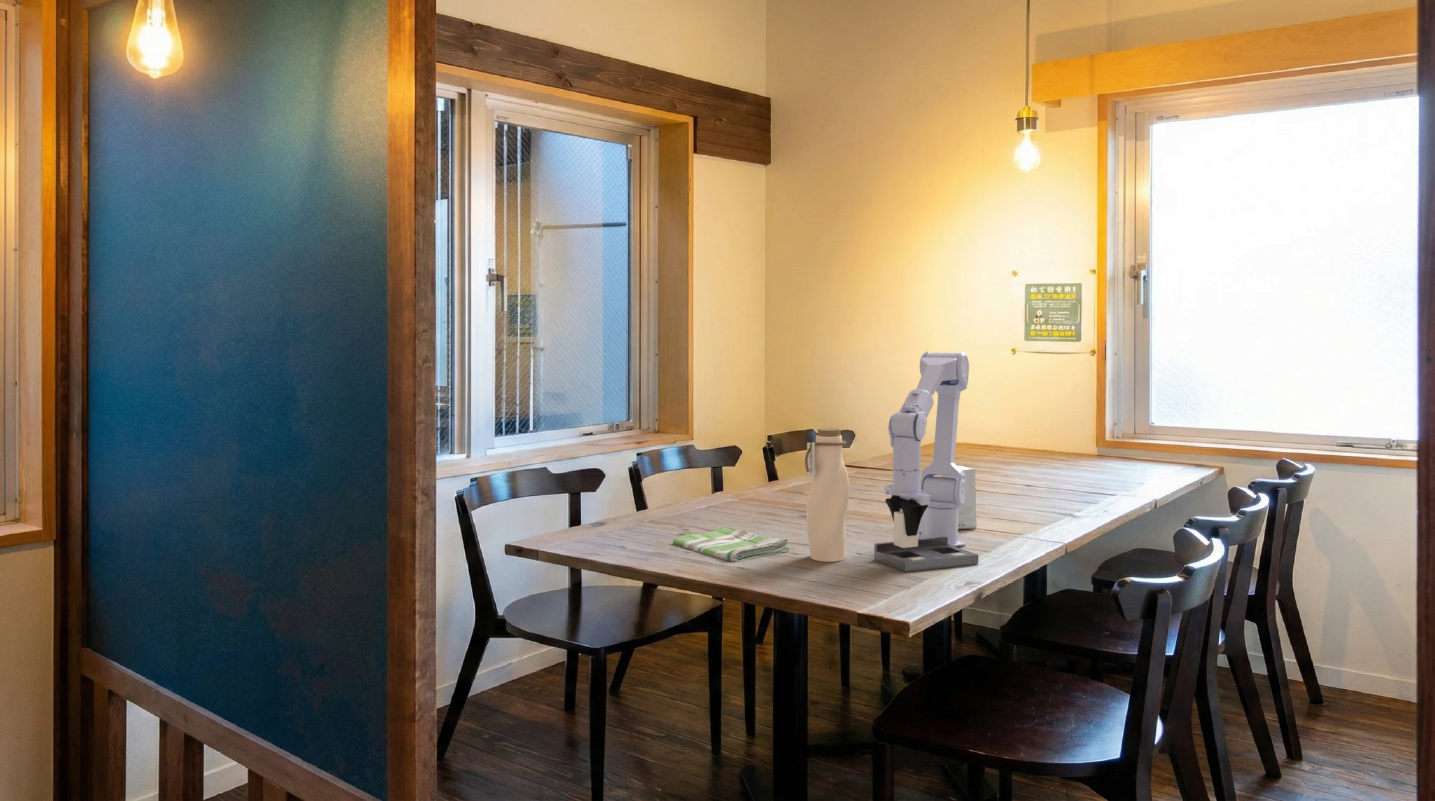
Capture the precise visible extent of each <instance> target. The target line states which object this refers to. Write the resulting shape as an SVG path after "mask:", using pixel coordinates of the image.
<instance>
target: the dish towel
mask: <svg viewBox="0 0 1435 801" xmlns="http://www.w3.org/2000/svg"><path fill="white" fill-rule="evenodd" d="M672 540H673V541H672V544H673V545H676V546H679V547H681V548H685V549H687V550H690V551H693V552H697V553H700V554H703V555H707V556H710V557H712V558H718V559H721V560H725V561H730V562H736V563H737V562H738V563H739V562H742V561H747V560H753V559H757V558H762V557H768V556H773V555H780V554H782V553H788V552H790V551H789V550H790V549H791V546H790V544H791V543H789V541H788V538H786V537H779V538H777V537H769V536H766V535H760V534H754V533H751V532H748V531H746V530H742V529H739V528H738V529H737V528H734V527H726V526H725V527H722V528H719V529H717V530H713V531H709V532H706V533H702V534H697V533H692V534H691V533H690V534H685V535H680V536H677V537H676V538H674V539H672Z"/></svg>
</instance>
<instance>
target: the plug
mask: <svg viewBox="0 0 1435 801" xmlns="http://www.w3.org/2000/svg"><path fill="white" fill-rule="evenodd" d="M893 542H894V545H896V546H899V547H902V548H908V547H918V532H917V535H915V536H907V534H906V529H905V518H904V514H903V510H902V509H900V511H898V512H894V522H893Z"/></svg>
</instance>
